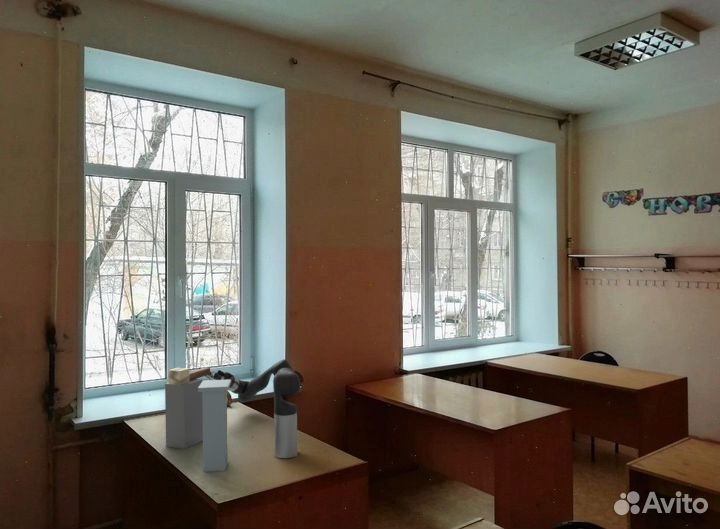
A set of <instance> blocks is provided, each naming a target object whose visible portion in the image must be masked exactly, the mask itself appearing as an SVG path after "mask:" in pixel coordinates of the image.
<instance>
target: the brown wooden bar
mask: <svg viewBox="0 0 720 529" xmlns="http://www.w3.org/2000/svg"><path fill="white" fill-rule="evenodd" d="M210 371H211V368H210V367H206V366H205V367H202V368H198V369H195V370H192V371H190V368H189V367H175V368H172V369H169V370H168V383H169V384H172V385H182V384H185V383H188V382H189V381H191V380H194V379H201V378H203V377H205V376H206V375H209V374H210Z"/></svg>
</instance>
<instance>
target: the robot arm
mask: <svg viewBox="0 0 720 529" xmlns="http://www.w3.org/2000/svg"><path fill="white" fill-rule="evenodd" d="M272 375H273V380H272V384H273V386H272V388H273V402H274V403H273V406H274V407H273V412H274V413H273V419H274V420H273V423H274V424H273V426H274V429H273V430H274V432H273V433H274V435H273V436H274V438H273V440H274V448H273V449H274V456H275V457H276V458H279V459H291V458H294V457H298V415H297V414H298V407H297V404H295V403H293V402H289V401H287V400H285V399H283V398H284V397H295V396H297V395H298V394H299V392H300V390H301V380H300V377H299V375H298V373H295V370H294V369H293V367H292V366H291V364H290V363H289V362H288V360H287V359H281V360H279V361H277V362H276V363H274V364H272V365H271V366H270V367H269V368H267V369H266V370H265V371H264V372H262V373H261V374H260V375H258V376H257V377H255V378H253V379H251V380H249V381H248V380H240V379H239V378H238V377H237V376H235V375H233V374H232V373H230V372H228V371H222V370H221V369H217V371H214V370H213V371H212V370H210V374H209V375H206V376H204V377H206V378H207V379H209V380H231V385H230V387H229V389H228V391H229V392H230V393H233V394H235V395H237V399H238V400H239V401H240V402H242V403H247V402H250V401H251V400H252V399H253V398H254V397H255V396H256V395H257V394H258V393H260V392H261V391H263V390H265V389H266V388H267V387H268V385H269V382H270V379H271V377H272Z"/></svg>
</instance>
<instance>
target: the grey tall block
mask: <svg viewBox="0 0 720 529" xmlns="http://www.w3.org/2000/svg"><path fill="white" fill-rule="evenodd" d="M202 381H203V379H201V378H197V379H194V380H191V381H189V382H188V383H185V384H182V385H172V384H169V382H167V383H165V384H164V390H165V391H164V396H165V398H164V400H165V402H164V403H165V404H164V405H165V408H164V409H165V447H169V448H176V449H181V450H185V449H187V448H189V447H192V446H193V445H196V444H198V443H200V442H201V441H202V442H203V406H202V392H198V387H199V386H200V384H201V383H202Z"/></svg>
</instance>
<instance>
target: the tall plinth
mask: <svg viewBox="0 0 720 529" xmlns="http://www.w3.org/2000/svg"><path fill="white" fill-rule="evenodd" d="M230 385H231V380H214V379H209V380H205V379H204V380H202V383H201V384H200V386H199V387H198V392H202V406H203V440H202V460H203V461H202V463H203V464H202V466H203V467H202V471H203V472H217V471H218V472H219V471H220V472H221V471H226V468H227V464H228V461H229V459H228V453H229V452H228V406H227V391H229V390H228V389H229V387H230Z"/></svg>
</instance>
